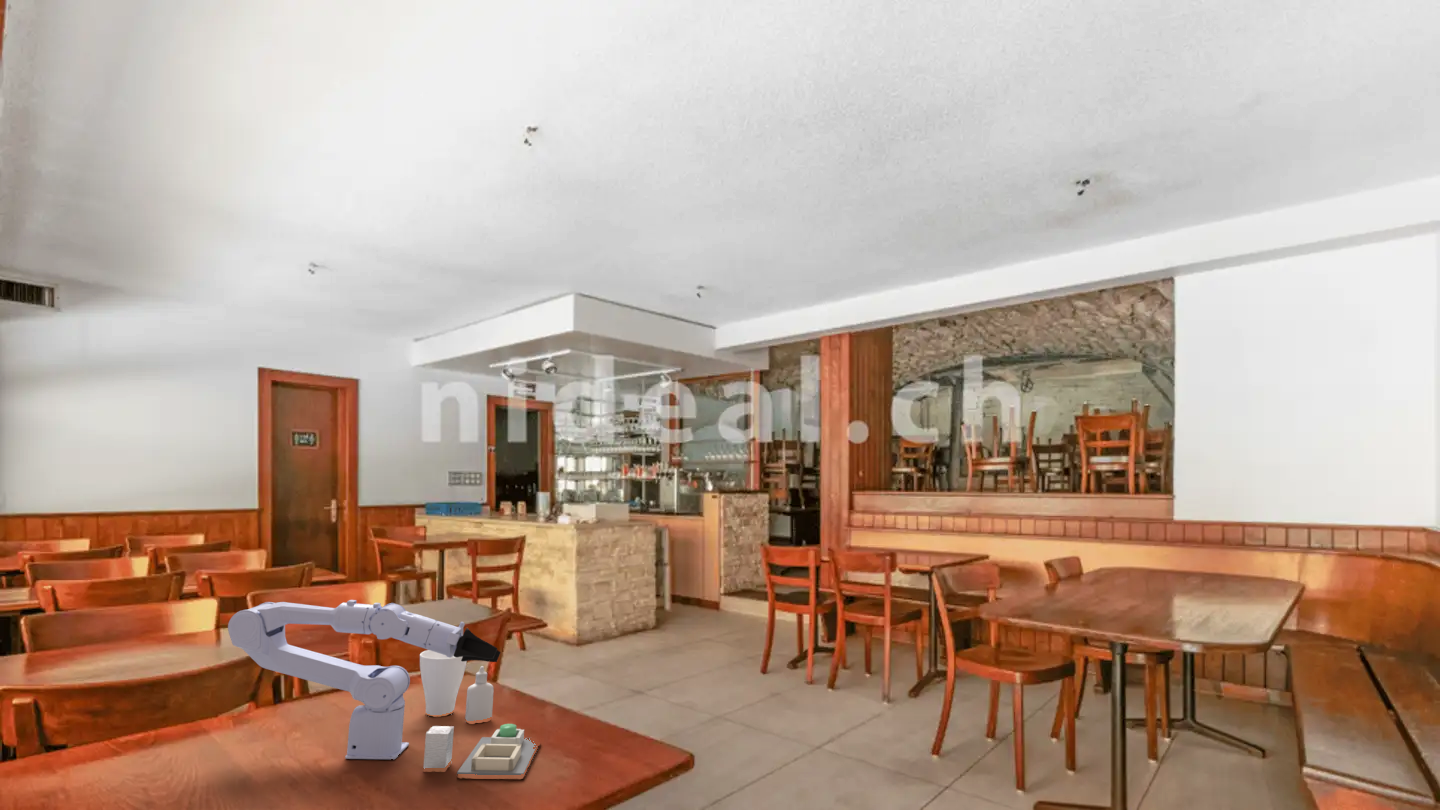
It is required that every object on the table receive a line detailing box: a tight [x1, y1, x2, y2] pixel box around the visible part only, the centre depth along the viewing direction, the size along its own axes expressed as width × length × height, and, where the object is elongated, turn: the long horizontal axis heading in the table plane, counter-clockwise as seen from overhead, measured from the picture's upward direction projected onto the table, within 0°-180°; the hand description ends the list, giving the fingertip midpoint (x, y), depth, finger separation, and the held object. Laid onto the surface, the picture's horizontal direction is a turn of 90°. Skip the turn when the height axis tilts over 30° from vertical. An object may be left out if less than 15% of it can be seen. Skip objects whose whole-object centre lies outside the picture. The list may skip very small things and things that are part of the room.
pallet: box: [456, 728, 537, 775], centre depth 146 cm, size 12×18×3 cm, turn 3°
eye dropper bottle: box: [464, 665, 494, 721], centre depth 168 cm, size 4×6×12 cm
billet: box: [423, 725, 455, 769], centre depth 142 cm, size 4×4×7 cm
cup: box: [419, 649, 468, 715], centre depth 172 cm, size 10×10×14 cm
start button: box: [499, 723, 517, 737], centre depth 151 cm, size 3×3×2 cm
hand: (496, 655), depth 151 cm, fingers open, 7 cm apart
